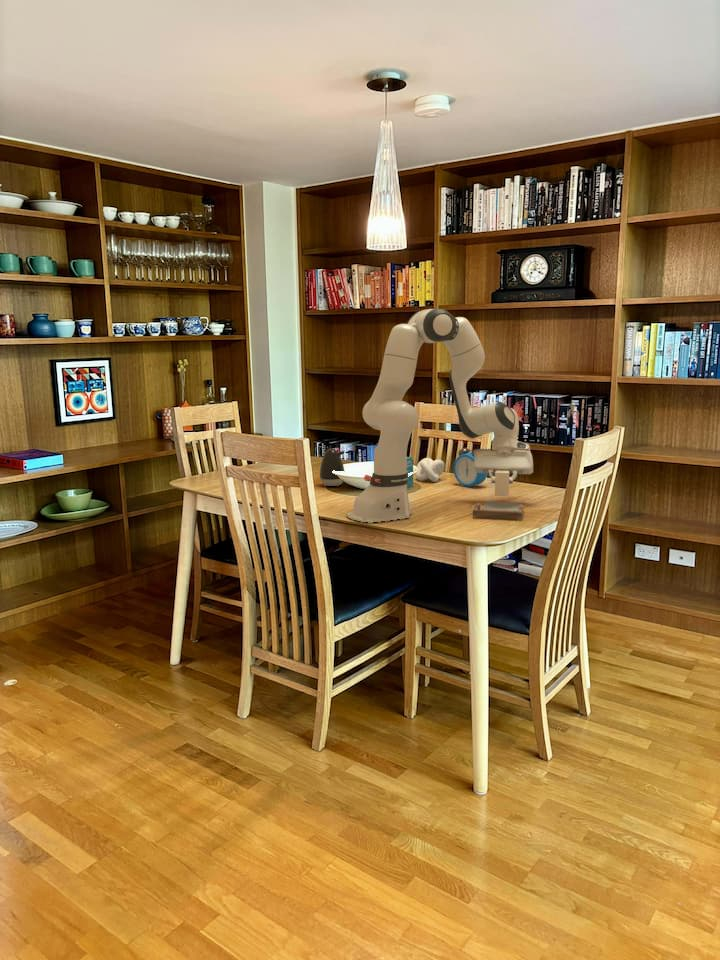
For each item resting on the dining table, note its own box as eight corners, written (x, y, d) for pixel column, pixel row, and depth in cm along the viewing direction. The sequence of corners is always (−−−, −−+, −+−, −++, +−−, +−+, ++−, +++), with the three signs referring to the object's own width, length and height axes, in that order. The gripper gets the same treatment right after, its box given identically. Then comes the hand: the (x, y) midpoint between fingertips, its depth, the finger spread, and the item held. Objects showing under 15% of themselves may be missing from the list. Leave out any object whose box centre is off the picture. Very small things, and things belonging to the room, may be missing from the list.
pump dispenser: (342, 488, 294) (341, 450, 291) (317, 487, 296) (315, 450, 293) (348, 483, 304) (347, 446, 301) (323, 482, 306) (322, 446, 303)
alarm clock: (452, 484, 297) (452, 447, 294) (462, 482, 301) (462, 446, 298) (478, 489, 287) (479, 451, 284) (488, 486, 292) (489, 449, 289)
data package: (398, 491, 286) (398, 461, 284) (388, 490, 288) (388, 460, 286) (413, 486, 296) (413, 456, 293) (403, 485, 298) (403, 455, 296)
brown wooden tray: (521, 525, 234) (521, 512, 234) (472, 522, 238) (472, 510, 238) (523, 516, 245) (523, 504, 245) (476, 514, 249) (476, 502, 249)
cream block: (508, 496, 250) (508, 473, 249) (494, 495, 251) (495, 472, 250) (509, 493, 255) (509, 470, 253) (496, 492, 256) (496, 470, 254)
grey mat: (518, 515, 247) (518, 510, 246) (481, 513, 250) (481, 509, 250) (520, 506, 258) (520, 502, 258) (485, 505, 261) (485, 501, 261)
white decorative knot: (444, 484, 299) (444, 462, 297) (414, 483, 301) (414, 462, 299) (444, 478, 310) (444, 457, 308) (415, 478, 312) (415, 457, 310)
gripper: (474, 443, 259) (470, 476, 252) (534, 444, 254) (532, 478, 246) (475, 454, 264) (472, 486, 257) (534, 455, 259) (532, 488, 251)
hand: (502, 482), depth 252 cm, fingers closed on cream block, 4 cm apart
